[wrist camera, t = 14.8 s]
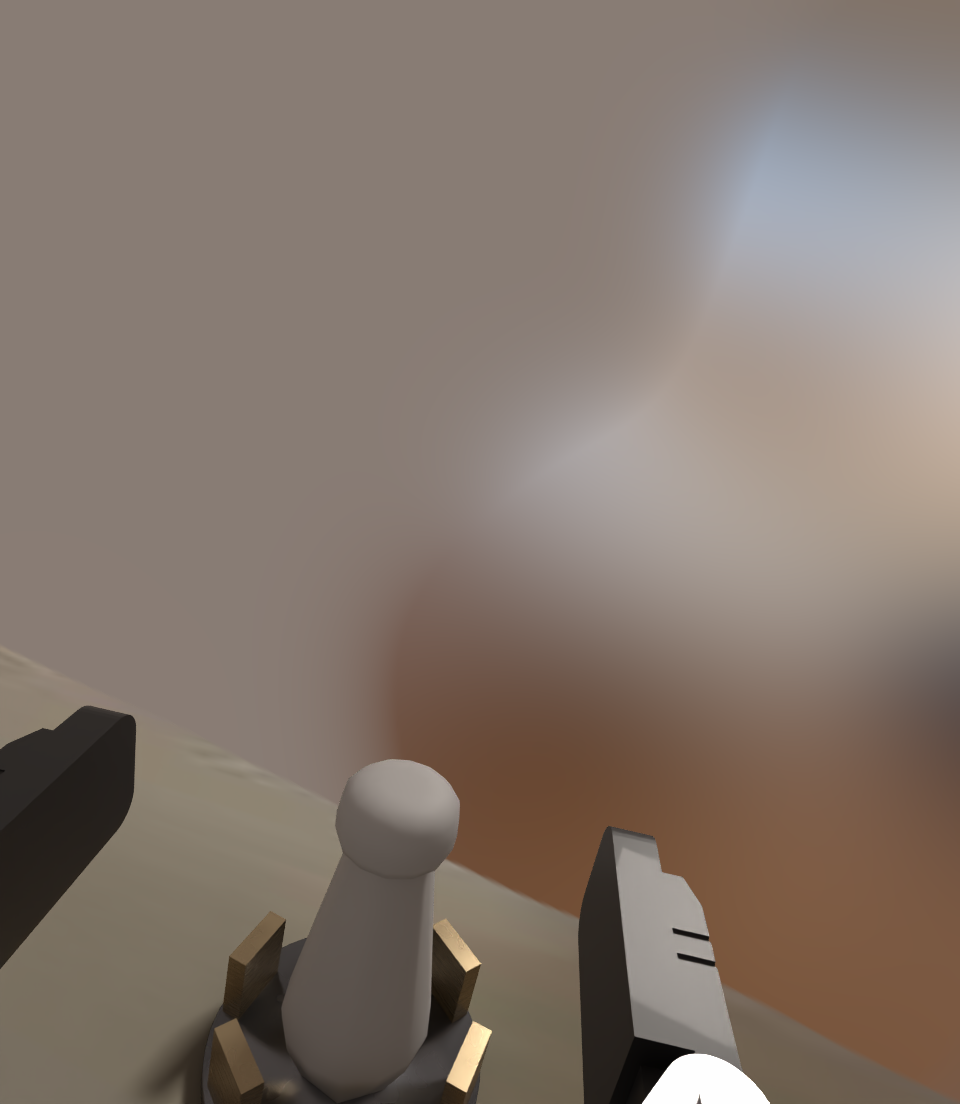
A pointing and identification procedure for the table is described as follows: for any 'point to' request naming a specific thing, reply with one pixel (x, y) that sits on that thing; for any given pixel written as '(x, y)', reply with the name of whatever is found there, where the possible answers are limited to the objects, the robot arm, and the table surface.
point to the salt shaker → (372, 934)
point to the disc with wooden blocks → (259, 1041)
